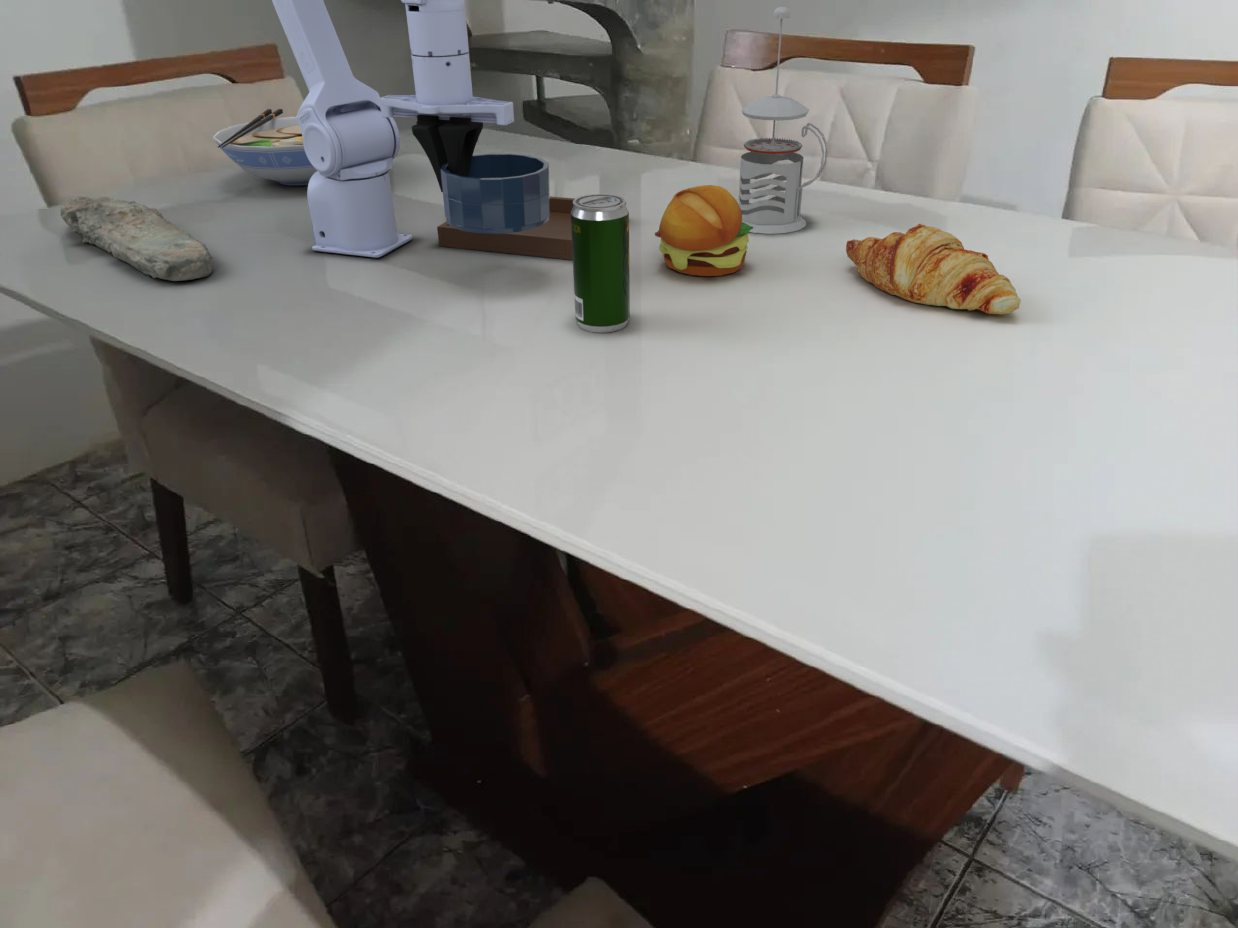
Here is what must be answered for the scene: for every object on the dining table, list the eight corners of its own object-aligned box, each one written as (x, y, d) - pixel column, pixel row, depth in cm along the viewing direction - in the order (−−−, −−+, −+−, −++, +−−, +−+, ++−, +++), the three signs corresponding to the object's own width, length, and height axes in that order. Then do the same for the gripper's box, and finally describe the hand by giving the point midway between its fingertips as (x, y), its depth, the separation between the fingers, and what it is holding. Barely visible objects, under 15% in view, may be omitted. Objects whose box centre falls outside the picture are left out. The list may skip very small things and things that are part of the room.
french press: (744, 208, 126) (755, 2, 113) (829, 218, 121) (850, 4, 108) (718, 228, 118) (727, 9, 105) (807, 239, 114) (828, 12, 101)
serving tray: (438, 246, 114) (436, 226, 112) (499, 209, 127) (498, 191, 126) (572, 260, 108) (571, 240, 107) (621, 220, 122) (620, 202, 120)
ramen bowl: (356, 201, 132) (347, 141, 127) (196, 203, 132) (181, 143, 128) (395, 160, 153) (388, 107, 149) (257, 161, 153) (246, 109, 149)
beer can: (594, 338, 89) (590, 213, 82) (565, 320, 93) (559, 199, 86) (640, 325, 91) (640, 203, 85) (610, 309, 95) (608, 190, 89)
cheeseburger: (763, 254, 108) (763, 175, 101) (732, 306, 102) (731, 224, 95) (681, 243, 112) (676, 165, 105) (647, 292, 105) (639, 212, 98)
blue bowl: (426, 227, 97) (421, 173, 94) (477, 199, 106) (473, 149, 103) (522, 239, 94) (519, 183, 91) (566, 209, 102) (565, 158, 99)
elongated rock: (152, 305, 101) (240, 286, 108) (142, 258, 99) (233, 242, 105) (45, 223, 122) (125, 212, 128) (35, 183, 119) (116, 173, 126)
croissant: (1023, 346, 94) (1061, 270, 92) (982, 325, 86) (1022, 242, 85) (856, 286, 108) (885, 219, 106) (808, 263, 101) (839, 192, 99)
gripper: (355, 56, 92) (375, 194, 99) (486, 62, 87) (497, 206, 94) (394, 46, 98) (410, 178, 105) (519, 51, 93) (527, 189, 100)
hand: (454, 190), depth 100 cm, fingers closed on blue bowl
